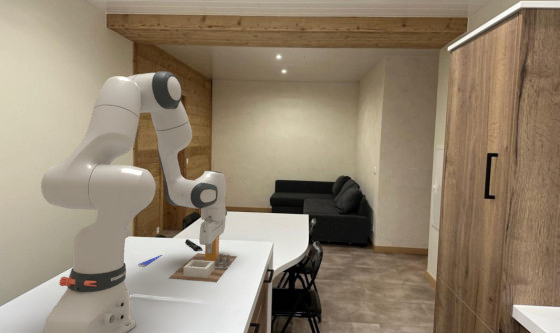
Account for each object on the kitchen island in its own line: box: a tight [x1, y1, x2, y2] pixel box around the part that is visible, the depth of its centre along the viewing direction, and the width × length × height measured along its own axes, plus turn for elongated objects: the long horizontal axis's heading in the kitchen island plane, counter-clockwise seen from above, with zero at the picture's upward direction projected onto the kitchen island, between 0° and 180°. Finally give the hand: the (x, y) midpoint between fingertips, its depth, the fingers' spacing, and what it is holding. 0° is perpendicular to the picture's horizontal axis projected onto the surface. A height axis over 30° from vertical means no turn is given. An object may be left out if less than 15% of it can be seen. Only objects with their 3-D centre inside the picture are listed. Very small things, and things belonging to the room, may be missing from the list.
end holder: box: [183, 260, 215, 278], centre depth 124 cm, size 8×8×3 cm
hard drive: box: [137, 254, 163, 268], centre depth 136 cm, size 2×8×12 cm
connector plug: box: [204, 236, 220, 262], centre depth 138 cm, size 4×4×10 cm
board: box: [168, 252, 238, 283], centre depth 131 cm, size 28×16×5 cm, turn 173°
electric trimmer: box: [184, 239, 204, 253], centre depth 155 cm, size 4×16×3 cm, turn 32°
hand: (212, 250), depth 138 cm, fingers closed on connector plug, 4 cm apart
